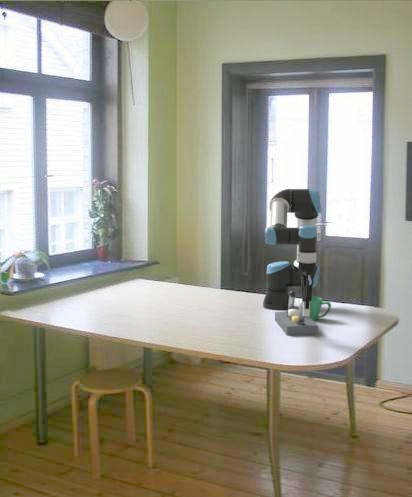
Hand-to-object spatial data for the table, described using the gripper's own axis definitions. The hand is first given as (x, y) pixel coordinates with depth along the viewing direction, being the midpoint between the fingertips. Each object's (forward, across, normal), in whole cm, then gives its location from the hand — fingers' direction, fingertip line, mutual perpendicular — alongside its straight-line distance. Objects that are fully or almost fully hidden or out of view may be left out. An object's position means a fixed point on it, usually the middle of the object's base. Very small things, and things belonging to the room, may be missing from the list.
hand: (306, 315), depth 311 cm
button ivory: (+6, -25, 0) cm, 25 cm away
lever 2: (+5, -10, 0) cm, 11 cm away
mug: (+11, -34, +13) cm, 38 cm away
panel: (+10, -20, 0) cm, 23 cm away
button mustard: (+8, -17, 0) cm, 19 cm away
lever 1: (+5, -31, 0) cm, 32 cm away
